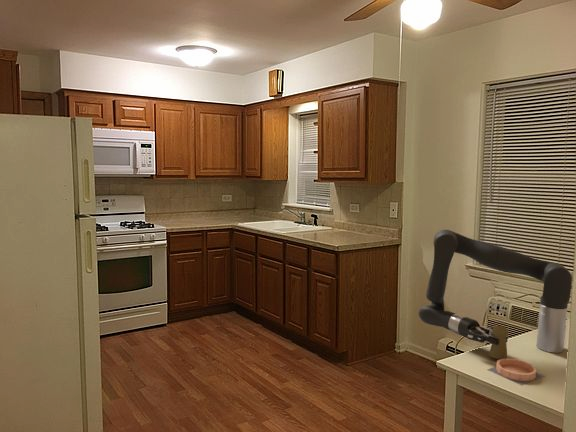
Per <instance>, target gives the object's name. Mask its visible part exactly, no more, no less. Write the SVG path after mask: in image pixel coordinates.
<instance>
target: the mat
mask: <svg viewBox="0 0 576 432" xmlns="http://www.w3.org/2000/svg"><path fill="white" fill-rule="evenodd" d="M486 370H487V371H489V372H491V373H493V374H495V375H498V376H500V377H503V378H504V379H506V380H509V381H511V382H513V383H515V384H517V385H518V386H519V385H520V386H524V385H527V384H530V383H531V382H532V383H533V382H534V381H537V380H539V379H542V378H544V377H546V376H545V375H544V374H540V373H538V372H536V377H535V379H534V380H532V381H516V380H512V379H508V378H506V377H504V376H502V375H500V374H499V373H498V372H497V370H496V366H493V367H489V368H488V369H486Z"/></svg>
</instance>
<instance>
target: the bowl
mask: <svg viewBox="0 0 576 432" xmlns="http://www.w3.org/2000/svg"><path fill="white" fill-rule="evenodd" d="M495 365H496V366H495V367H496V370H497V372H498V373H499V374H500V375H502V376H504V377H506V378H508V379H512V380H516V381H532V380H534V379H535V377H536V373H537V367H535V366H534V365H533V364H531V363H529V362H526V361H525V360H523V359H522V360H521V359H517V358H516V359H515V358H507V359H497V360H496V364H495ZM500 375H499V376H500ZM502 376H501V377H502ZM504 377H503V378H504ZM506 378H505V379H506ZM508 379H507V380H508ZM532 382H533V381H532Z"/></svg>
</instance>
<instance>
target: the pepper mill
mask: <svg viewBox="0 0 576 432" xmlns="http://www.w3.org/2000/svg"><path fill="white" fill-rule="evenodd" d="M492 327H493V329H492V332H493V337H495V338H497V339H499V345H495V344H492V343H491V344H490V348H489V349H490V350H489V356H490V357H491V358H493V359H496V360H500V359H508V348H507V347H508V345H507V342H506V337H508V335H509V329H508V328H507V327H505V326H502V325H495V326H492Z"/></svg>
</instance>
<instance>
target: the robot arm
mask: <svg viewBox="0 0 576 432" xmlns="http://www.w3.org/2000/svg"><path fill="white" fill-rule="evenodd" d="M433 247H434V248H433V251H434V252H433V263H432V270H431V272H430V276H429V279H428V284H427V288H426V293H425V296H426V299H427V301H429V302H431V304H429V305H423V306H422V307H420V309H419V310H418V317H419V318H420V320H421V321H422V322H423V323H424V324H426V325H431V326H434V327H435V326H436V327H441V328H444V329H447V330H448V331H451V332H452V333H455V334H456V335H460V336H461V337H465V338H467V340H470V341H471V340H472V341H473V342H474V341H475V342H477V343H483V344H484V343H490V344H491V345H492V344H495V345H499V339H497V338H495V337H493V336H494V335H493V332H492V329H493V327H494V326H492V325H489V326H488V327H486V326H483V325H480V324H479V323H480V322H478V320H476V319H473V318H471V317H467V316H465V315H463V314H458V313H455V312H452V311H448V310H445V301H444V297H445V293H446V288H447V283H448V275H449V270H450V269H449V268H450V265H451V263H452V259H453V257H454V255H455V253H456V254H459V255H464V256H466V257H469V258H471V259H472V260H474V261H476V262H477V263H479V264H481V265H483V266H484V267H487V268H490V269H493V270H496V271H499V272H503V273H507V274H517V275H524V276H528V277H530V278H533V279H535V280H538V281H540V282H543V290H542V295H541V296H540V301H539V311H538V312H539V314H538V321H537V322H538V324H537V335H536V346H535V347H537V348H538V349H539V350H542V351H544V352H546V353H547V352H548V353H552V354H553V353H554V354H555V353H556V354H557V353H558V354H559V353H562V352H564V349H565V340H566V329H567V315H568V313H567V312H568V304H569V302H570V299H571V295H572V294H571V293H572V284H573V278H572V277H573V276H572V273H571V272H570V271H569V270H568V269H567V268H566V267H565V266H564V265H563V264H560V263H557V262H554V261H549V260H548V261H547V260H541V259H537V258H533V257H532V256H531V257H530V256H528V255H525V254H523V253H521V252H518V251H516V250H512V249H509V248H506V247H503V246H500V245H497V244H491V243H489V242H485V241H481V240H476V239H473V238H470V237H467V236H465V235H462V234H460V233H458V232H455V231H453V230H450V229H442V230H439V231H437V232H436V233H435V235H434V237H433ZM506 343H508V336H506Z"/></svg>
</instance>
